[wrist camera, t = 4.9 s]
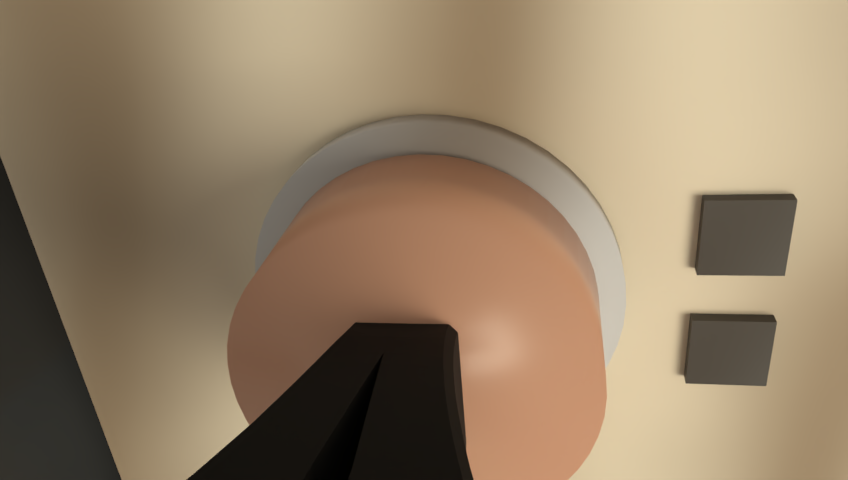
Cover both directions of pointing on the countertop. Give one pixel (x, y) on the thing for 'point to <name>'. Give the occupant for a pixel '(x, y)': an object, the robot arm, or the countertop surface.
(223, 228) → the button board
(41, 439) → the countertop surface
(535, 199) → the terracotta button
